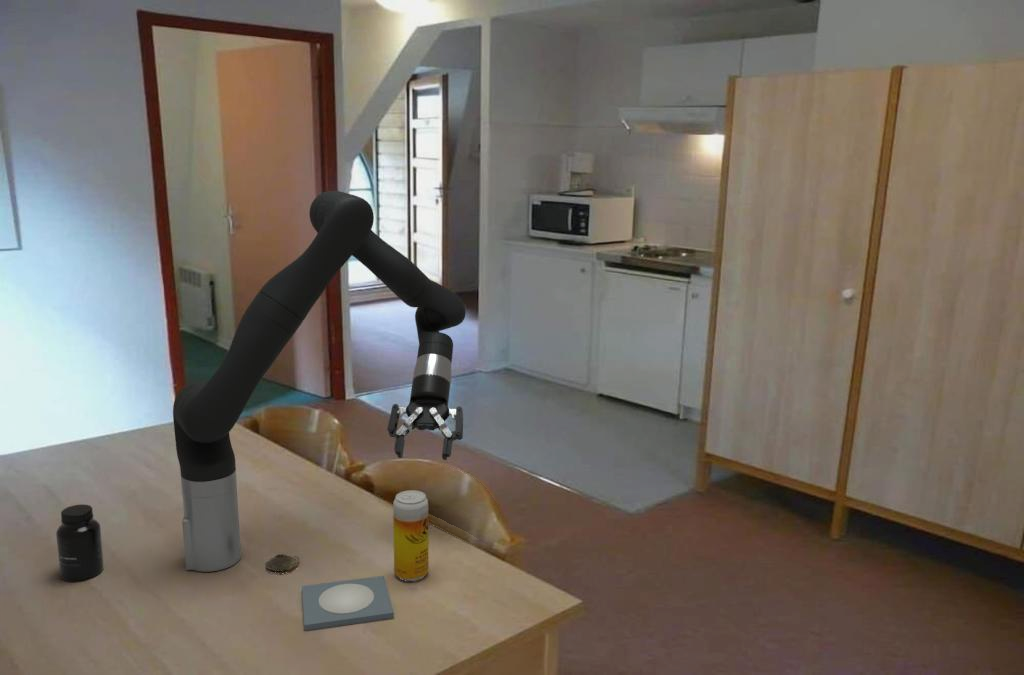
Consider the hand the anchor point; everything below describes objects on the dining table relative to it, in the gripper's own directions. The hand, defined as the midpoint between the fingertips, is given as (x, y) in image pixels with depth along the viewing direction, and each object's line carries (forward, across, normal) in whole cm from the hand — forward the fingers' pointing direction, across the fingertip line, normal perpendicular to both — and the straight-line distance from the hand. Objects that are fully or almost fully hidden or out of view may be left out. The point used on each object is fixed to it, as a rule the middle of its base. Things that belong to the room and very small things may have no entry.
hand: (422, 457), depth 150 cm
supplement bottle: (+24, -58, +1) cm, 63 cm away
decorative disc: (+20, -24, +5) cm, 32 cm away
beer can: (+21, 0, +4) cm, 21 cm away
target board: (+28, -9, -3) cm, 30 cm away
